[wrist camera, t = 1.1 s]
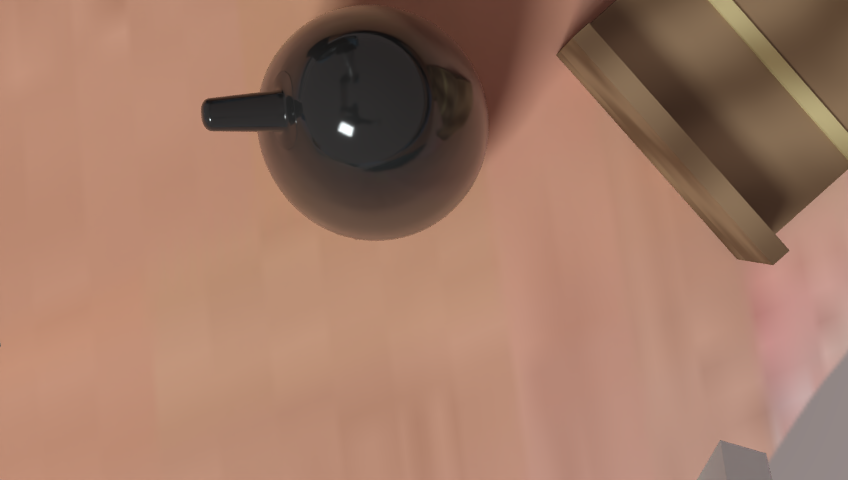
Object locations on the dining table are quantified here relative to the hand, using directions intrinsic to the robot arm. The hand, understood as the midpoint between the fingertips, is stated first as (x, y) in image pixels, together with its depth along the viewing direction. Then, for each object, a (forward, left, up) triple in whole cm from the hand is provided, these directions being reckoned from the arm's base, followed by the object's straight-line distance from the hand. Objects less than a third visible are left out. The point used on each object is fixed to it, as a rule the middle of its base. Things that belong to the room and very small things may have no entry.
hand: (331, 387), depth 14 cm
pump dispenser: (-5, +4, -26) cm, 27 cm away
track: (+5, +21, -26) cm, 34 cm away
